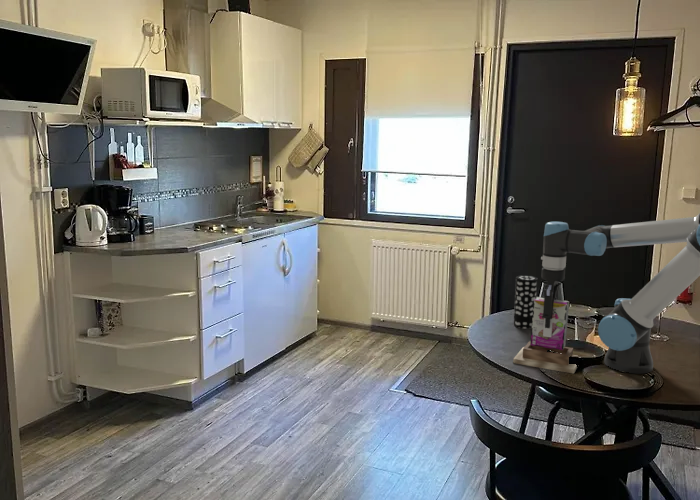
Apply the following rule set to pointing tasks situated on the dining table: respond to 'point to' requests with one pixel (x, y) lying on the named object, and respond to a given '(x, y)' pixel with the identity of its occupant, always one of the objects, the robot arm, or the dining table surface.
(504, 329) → the dining table surface
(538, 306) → the candy bar box
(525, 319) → the white-spotted black cylinder
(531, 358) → the stand
